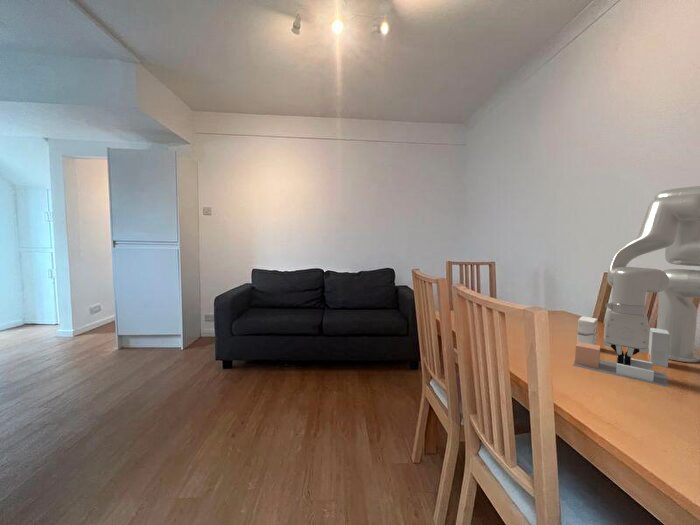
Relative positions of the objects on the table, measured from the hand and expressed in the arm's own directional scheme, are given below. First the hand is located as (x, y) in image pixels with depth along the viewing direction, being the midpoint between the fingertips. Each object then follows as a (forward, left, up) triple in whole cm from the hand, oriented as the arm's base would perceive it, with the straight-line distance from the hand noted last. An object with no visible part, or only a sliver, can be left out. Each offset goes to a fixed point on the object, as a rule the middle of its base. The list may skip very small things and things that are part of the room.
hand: (623, 366), depth 94 cm
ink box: (-20, -11, -3) cm, 23 cm away
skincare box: (-16, +8, -2) cm, 18 cm away
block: (+1, -9, -1) cm, 9 cm away
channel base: (0, -1, -2) cm, 3 cm away
